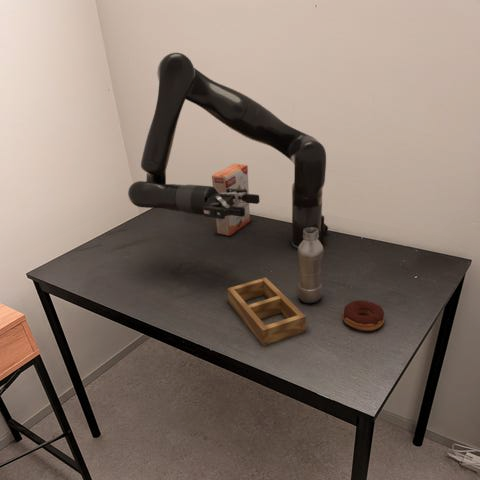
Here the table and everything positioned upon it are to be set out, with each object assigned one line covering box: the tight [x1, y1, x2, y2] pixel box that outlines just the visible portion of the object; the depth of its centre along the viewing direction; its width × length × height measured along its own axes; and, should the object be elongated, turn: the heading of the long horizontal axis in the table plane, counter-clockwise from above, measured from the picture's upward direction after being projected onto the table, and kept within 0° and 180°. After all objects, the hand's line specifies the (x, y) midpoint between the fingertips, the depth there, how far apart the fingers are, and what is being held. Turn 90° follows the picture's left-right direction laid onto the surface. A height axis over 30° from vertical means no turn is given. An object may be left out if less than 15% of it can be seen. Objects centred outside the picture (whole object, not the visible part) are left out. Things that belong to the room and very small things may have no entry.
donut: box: [342, 300, 385, 332], centre depth 111 cm, size 10×10×4 cm
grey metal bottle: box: [297, 227, 324, 304], centre depth 116 cm, size 6×7×20 cm
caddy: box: [227, 277, 307, 346], centre depth 115 cm, size 11×21×4 cm, turn 24°
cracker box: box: [211, 163, 251, 237], centre depth 157 cm, size 14×6×21 cm, turn 148°
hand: (251, 205), depth 114 cm, fingers open, 8 cm apart
